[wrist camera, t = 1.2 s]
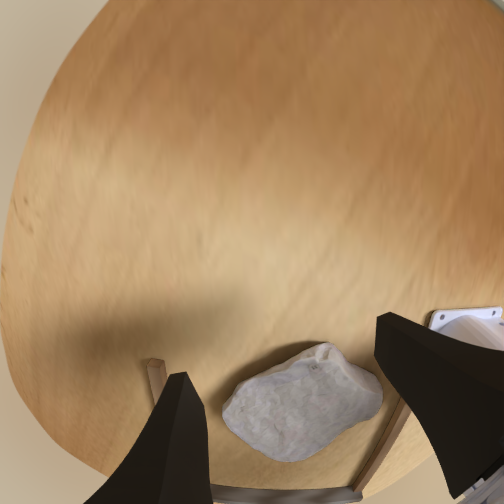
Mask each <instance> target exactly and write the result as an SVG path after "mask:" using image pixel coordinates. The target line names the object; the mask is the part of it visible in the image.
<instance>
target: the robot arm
mask: <svg viewBox="0 0 504 504" xmlns="http://www.w3.org/2000/svg"><path fill="white" fill-rule="evenodd" d="M502 311H503V309H502V307H500V306H497V307H484V308H469V309H451V310H436V311H434V312H433V314H432V316H431V320H430V323H429V327H428V328H426V327H424V326H422V325H420V324H417V323H415V322H413V321H411V320H408V319H406V318H404V317H402V316H399V315H397V314H394V313H392V312H388V313H385V314H383V315H380V316H378V317H377V323H376V338H375V350H374V356H375V358H376V360H377V362H378V364H379V366H380V367H381V369H382V371H383V372H384V374H385V376H386V377H387V378H388V380H389V381H390V382H391V384H392V385H393V386H394V388H395V389H396V390H397V392H398V393H399V394H400V396H401V397H402V398H403V400H404V401H405V402H406V403H407V405H408V406H409V407H410V409H411V410H412V411H413V413H414V414H415V416H416V417H417V419H418V420H419V422H420V424H421V426H422V428H423V429H424V431H425V433H426V435H427V437H428V439H429V441H430V443H431V445H432V447H433V449H434V451H435V453H436V455H437V458H438V461H439V463H440V465H441V468H442V471H443V473H444V476H445V479H446V482H447V486H448V489H449V493H450V494H451V496H452V498H453V499H456V498H457V497H458V496H460V495H461V494H464V495H465V496H466V497H465V498H464V499H463V500H462V501H460V502H459V503H457V504H504V320H503V319H502V318H501V315H502ZM442 314H443V315H442ZM441 315H442V317H441ZM440 317H441V318H440ZM83 504H213V499H212V494H211V489H210V479H209V457H208V429H207V422H206V416H205V409H204V405H203V403H202V401H201V399H200V397H199V396H198V394H197V392H196V390H195V388H194V386H193V384H192V382H191V380H190V378H189V376H188V374H187V372H181V373H175V374H170V376H169V377H168V379H167V382H166V384H165V386H164V388H163V390H162V392H161V395H160V397H159V399H158V401H157V403H156V405H155V407H154V409H153V411H152V413H151V415H150V417H149V419H148V421H147V423H146V425H145V426H144V428H143V430H142V432H141V433H140V435H139V437H138V439H137V440H136V442H135V444H134V445H133V447H132V448H131V450H130V451H129V453H128V454H127V456H126V457H125V458H124V460H123V461H122V463H121V464H120V465H119V467H118V468H117V469H116V470H115V471H114V473H113V474H112V475H111V476H110V477H109V479H108V480H107V481H106V482H105V483H104V484H103V485H102V486H101V487H100V488H99V489H98V490H97V491H96V492H95V493H94V494H93V495H92V496H91V497H90V498H89V499H88V500H87V501H86V502H84V503H83Z"/></svg>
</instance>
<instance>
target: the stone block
mask: <svg viewBox="0 0 504 504" xmlns="http://www.w3.org/2000/svg"><path fill="white" fill-rule="evenodd" d="M382 402H383V388H382V386H381V384H380V383H379V381H378V380H377V378H376V376H375V375H373V374H372V373H370V372H369V371H366V370H365V369H363V368H360V367H359V366H357V365H355V364H351V363H349V362H348V361H347V360H346V359H345V357H344V356H343V354H342V353H341V351H340V350H338V349H337V348H336V347H335V346H334V344H332V343H330V342H325V343H322V344H318V345H315V346H313V347H311V348H309V349H307V350H304V351H302V352H301V353H300V354H298V355H296V356H294V357H292V358H290V359H289V360H287V361H286V362H284V363H282V364H279V365H276V366H273V367H271V368H269V369H268V370H266V371H264V372H261V373H258V374H257V375H255V376H253V377H251V378H249V379H246V380H243V381H242V382H240V383H238V385H237V387H236V388H235V390H234V392H233V394H232V395H231V396H230V397H229V398H228V399H227V401H226V402H225V403H224V404H223V406H222V417H223V419H224V421H225V423H226V425H227V426H228V427H229V429H230V430H231V431H232V432H234V433H235V434H236V435H238V436H239V437H240V438H241V439H242V440H244V441H245V442H246V443H247V444H248V445H250V446H251V447H252V448H253V449H256V450H258V451H260V452H262V453H263V454H264V455H265V456H267V457H269V458H271V459H274V460H277V461H280V462H286V461H287V462H294V461H301V460H304V459H306V458H308V457H310V456H312V455H314V454H315V453H317V452H318V451H320V450H322V449H323V448H325V447H326V446H327V445H329V444H330V443H331V442H332V441H333V440H334V439H335V438H336V437H337V436H338V435H339V434H341V433H342V432H343V431H345V430H346V429H348V428H351V427H352V426H354V425H355V424H356V423H358V422H362V421H366V420H369V419H371V418H372V417H374V416H375V415H376V414H377V413H378V411H379V409H380V407H381V405H382Z"/></svg>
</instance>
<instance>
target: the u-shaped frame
mask: <svg viewBox="0 0 504 504" xmlns="http://www.w3.org/2000/svg"><path fill="white" fill-rule="evenodd" d="M147 371H148V375H149V380H150V385H151V389H152V394H153V398H154V402H155V405H156V403H157V401H158V399H159V397H160V395H161V392H162V390H163V388H164V386H165V384H166V382H167V375H166V369H165V362H164V360H158V359H153V358H152V359H151V360H150V362H149V363H148V365H147ZM411 411H412V410H411V409H410V407H409V406H408V405H407V403H406V402H405V401H404V400H403V398H402V397H401V398H400V401H399V403H398V405H397V407H396V409H395V412H394V414H393V416H392V418H391V420H390V422H389V424H388V426H387V428H386V430H385V432H384V434H383V436H382V438H381V439H380V441H379V443H378V445H377V447H376V448H375V450H374V452H373V454H372V455H371V457H370V459H369V461H368V462H367V464H366V466H365V467H364V469H363V470H362V472H361V474H360V475H359V477H358V478H357V480H356V481H355V483H354V484H353V486H348V487H339V488H327V489H311V490H266V489H249V488H238V487H228V486H220V485H213V484H210V489H211V494H212V499H213V502H217V503H225V504H346V503H353V502H359V501H361V500H362V499H363V496H362V490H363V489H364V487H365V486H366V485H367V483H368V482H369V481H370V479H371V478H372V476H373V475H374V473H375V472H376V470H377V469H378V468H379V466H380V465H381V463H382V461H383V460H384V458H385V457H386V455H387V454H388V452H389V450H390V449H391V447H392V445H393V444H394V442H395V440H396V439H397V437H398V435H399V433H400V432H401V430H402V428H403V426H404V424H405V423H406V421H407V419H408V417H409V415H410V413H411Z"/></svg>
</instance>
